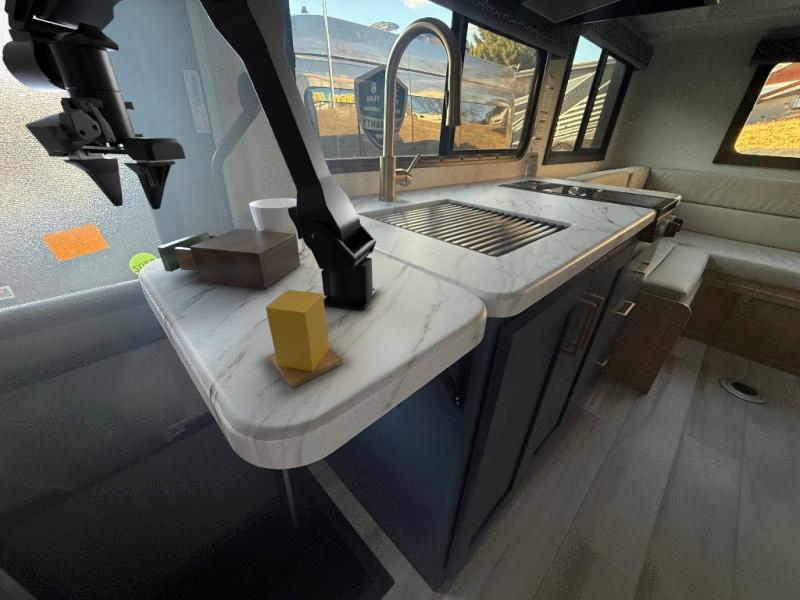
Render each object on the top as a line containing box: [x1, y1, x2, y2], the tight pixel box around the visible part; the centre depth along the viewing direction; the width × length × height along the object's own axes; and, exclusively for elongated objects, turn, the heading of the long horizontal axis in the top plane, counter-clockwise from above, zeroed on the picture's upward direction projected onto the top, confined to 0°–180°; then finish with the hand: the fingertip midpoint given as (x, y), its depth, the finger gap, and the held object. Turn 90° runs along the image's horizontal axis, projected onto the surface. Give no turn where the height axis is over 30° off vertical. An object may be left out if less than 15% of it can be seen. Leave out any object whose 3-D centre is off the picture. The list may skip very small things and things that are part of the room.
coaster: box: [267, 347, 343, 389], centre depth 34 cm, size 6×6×1 cm
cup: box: [248, 197, 306, 254], centre depth 64 cm, size 10×10×10 cm
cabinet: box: [190, 228, 301, 291], centre depth 54 cm, size 12×11×6 cm
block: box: [265, 289, 330, 371], centre depth 32 cm, size 4×4×7 cm
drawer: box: [156, 230, 220, 273], centre depth 55 cm, size 12×10×4 cm
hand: (137, 207), depth 50 cm, fingers open, 7 cm apart
